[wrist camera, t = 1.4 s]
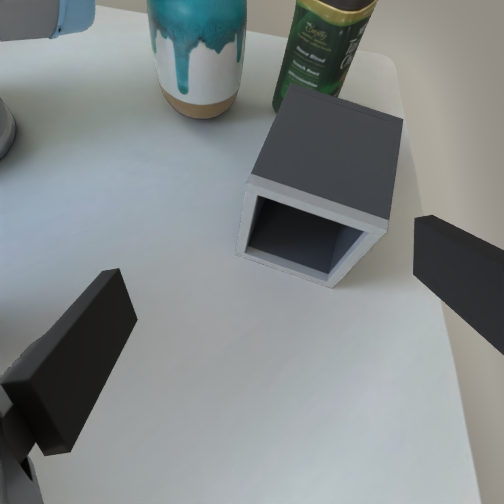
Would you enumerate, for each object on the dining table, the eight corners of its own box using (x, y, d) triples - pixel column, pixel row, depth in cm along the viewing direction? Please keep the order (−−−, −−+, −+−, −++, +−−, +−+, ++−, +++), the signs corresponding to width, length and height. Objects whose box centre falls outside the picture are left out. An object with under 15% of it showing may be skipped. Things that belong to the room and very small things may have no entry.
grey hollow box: (332, 288, 34) (387, 230, 24) (234, 254, 35) (246, 182, 24) (352, 197, 40) (403, 118, 30) (269, 169, 41) (290, 82, 30)
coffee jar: (310, 139, 44) (370, -26, 28) (262, 111, 46) (294, -61, 29) (341, 103, 49) (410, -57, 32) (297, 79, 50) (341, -87, 34)
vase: (253, 104, 46) (279, -79, 29) (207, 145, 41) (207, -43, 24) (194, 70, 48) (186, -120, 31) (143, 107, 43) (102, -94, 26)
